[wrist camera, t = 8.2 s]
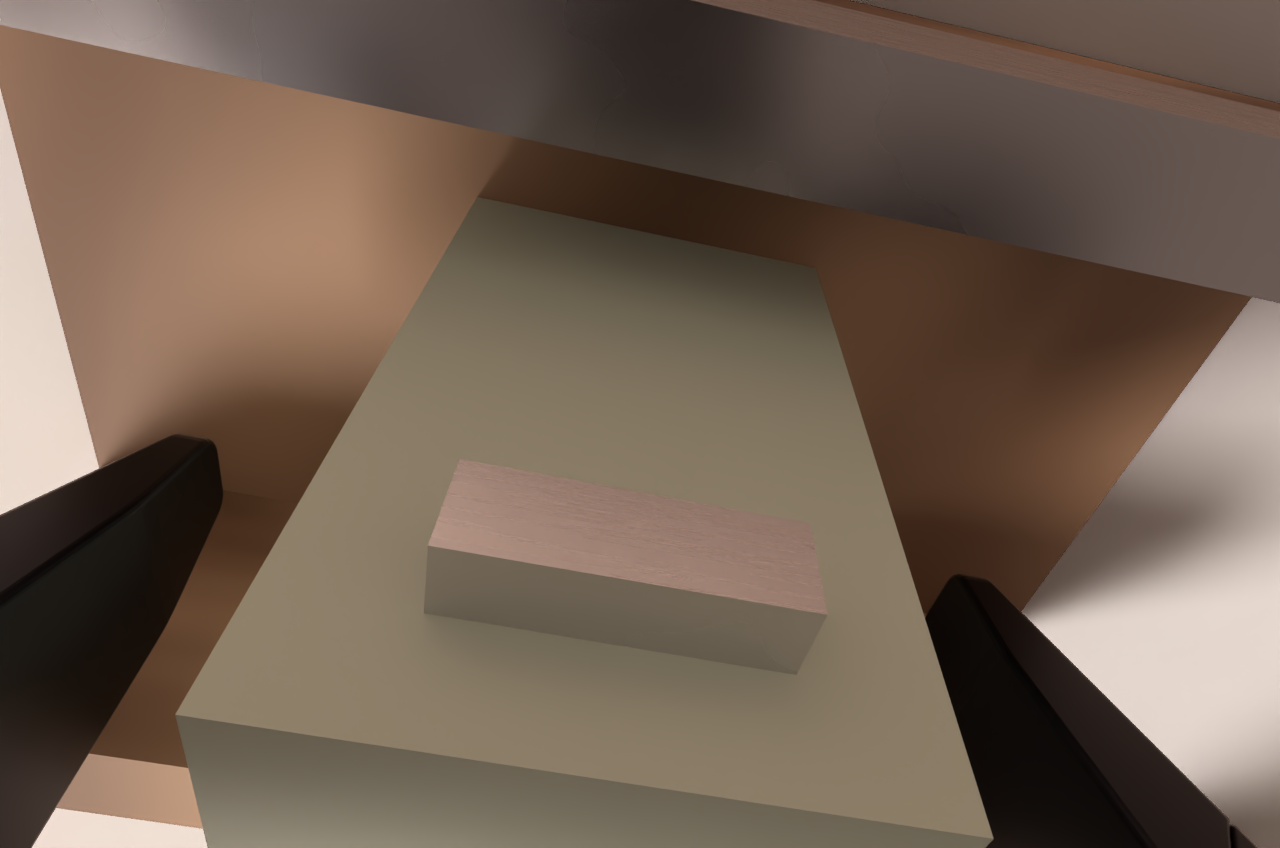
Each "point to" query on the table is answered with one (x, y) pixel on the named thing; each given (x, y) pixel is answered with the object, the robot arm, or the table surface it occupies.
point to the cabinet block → (588, 580)
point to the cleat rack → (630, 198)
